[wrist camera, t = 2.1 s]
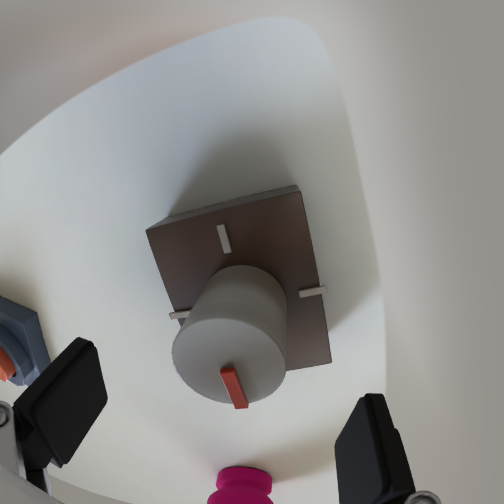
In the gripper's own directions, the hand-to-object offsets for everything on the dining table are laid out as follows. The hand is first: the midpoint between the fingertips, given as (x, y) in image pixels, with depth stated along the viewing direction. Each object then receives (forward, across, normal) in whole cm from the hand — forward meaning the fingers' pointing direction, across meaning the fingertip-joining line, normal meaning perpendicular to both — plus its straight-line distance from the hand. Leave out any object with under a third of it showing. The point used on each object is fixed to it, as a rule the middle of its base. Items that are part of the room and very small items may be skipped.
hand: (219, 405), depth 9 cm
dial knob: (+7, 0, 0) cm, 7 cm away
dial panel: (+10, 0, 0) cm, 10 cm away
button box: (+10, +23, +12) cm, 28 cm away
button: (+6, +23, +12) cm, 27 cm away
